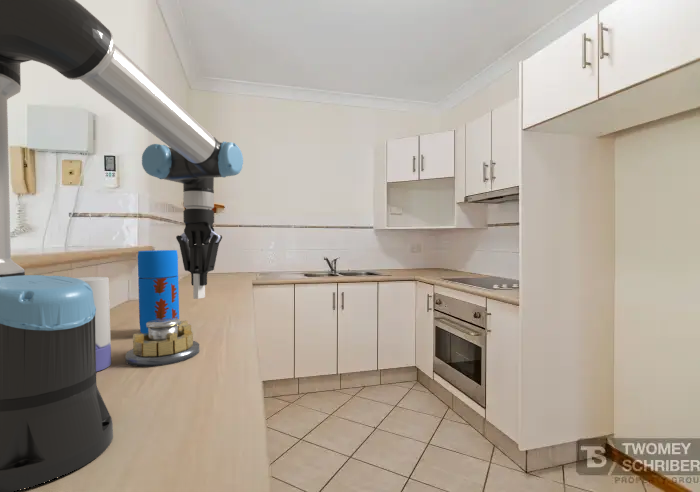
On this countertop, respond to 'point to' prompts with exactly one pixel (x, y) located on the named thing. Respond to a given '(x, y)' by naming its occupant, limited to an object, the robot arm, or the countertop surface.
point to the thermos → (157, 286)
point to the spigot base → (161, 358)
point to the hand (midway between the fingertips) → (199, 297)
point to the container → (101, 320)
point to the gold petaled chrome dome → (164, 342)
